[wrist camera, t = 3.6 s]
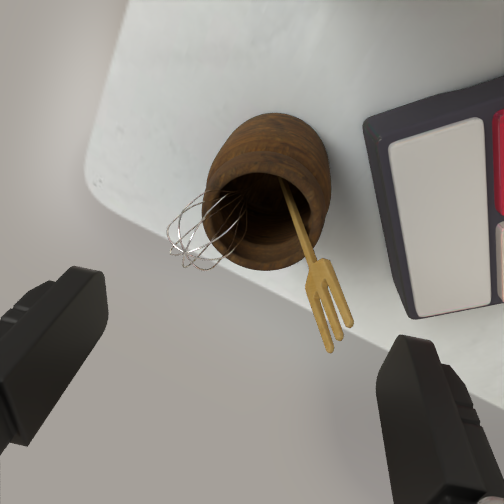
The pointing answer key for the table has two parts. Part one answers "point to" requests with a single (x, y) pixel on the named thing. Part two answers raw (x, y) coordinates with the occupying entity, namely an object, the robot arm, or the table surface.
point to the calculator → (442, 197)
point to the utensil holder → (273, 208)
